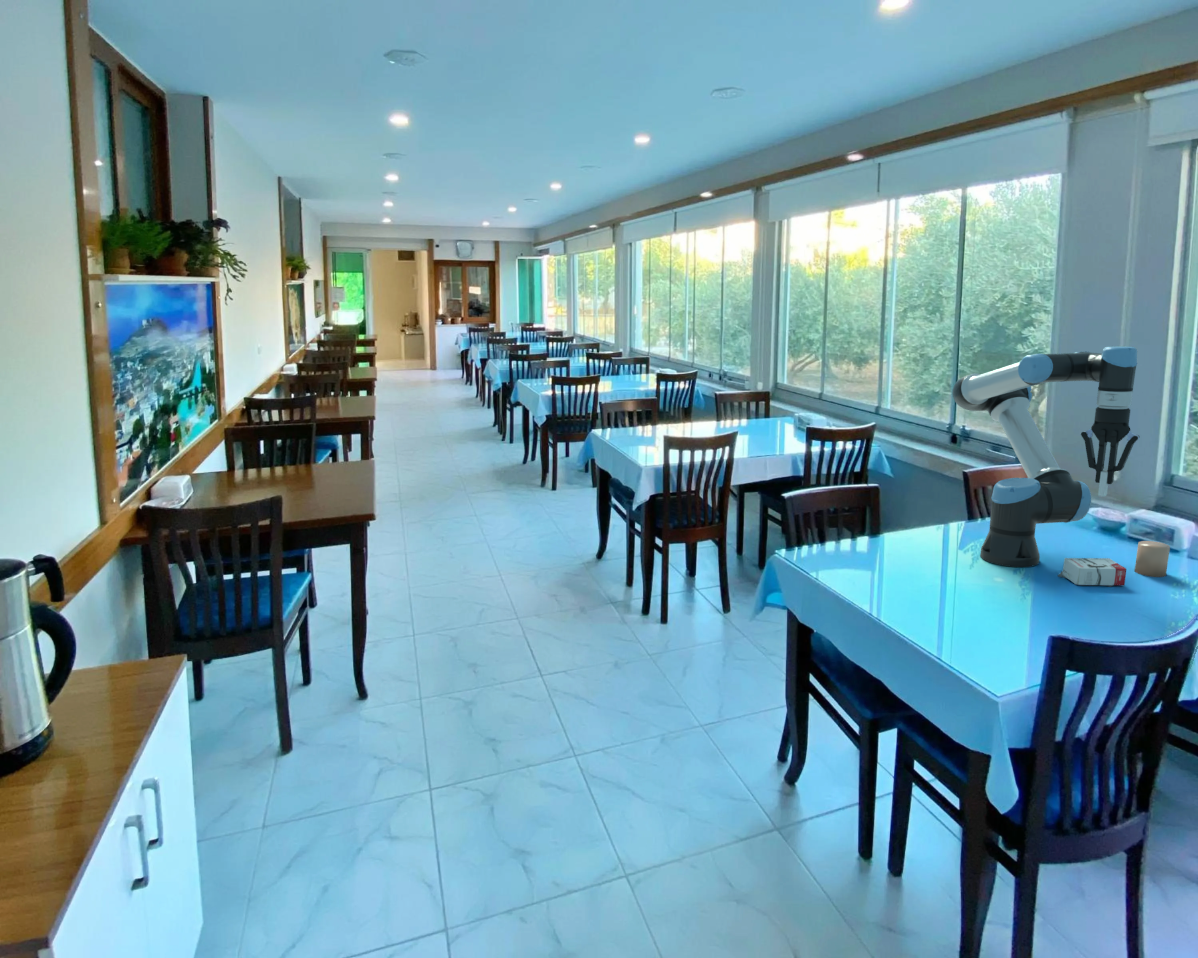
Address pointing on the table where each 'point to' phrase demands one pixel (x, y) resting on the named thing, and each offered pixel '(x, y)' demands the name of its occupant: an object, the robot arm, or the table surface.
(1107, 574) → the ink box
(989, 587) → the table surface
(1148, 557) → the beige domed cylinder
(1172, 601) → the table surface
